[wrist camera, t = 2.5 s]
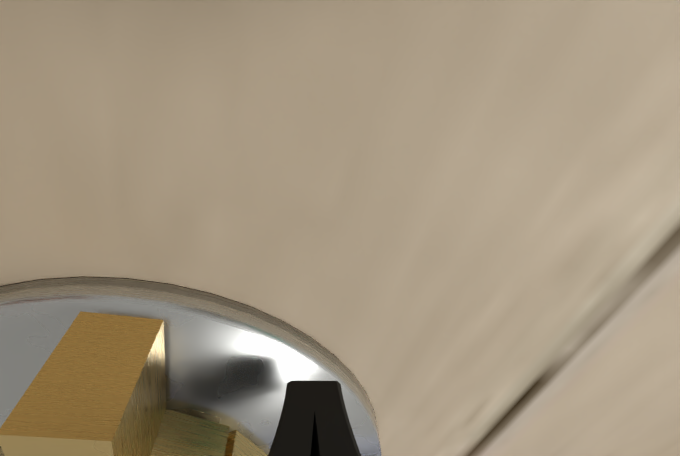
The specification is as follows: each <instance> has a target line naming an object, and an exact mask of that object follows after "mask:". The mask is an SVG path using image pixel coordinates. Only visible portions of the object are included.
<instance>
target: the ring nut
mask: <svg viewBox="0 0 680 456" xmlns="http://www.w3.org/2000/svg"><path fill="white" fill-rule="evenodd" d="M229 428H230V426H227V425H223V424H220V423H216V422H212V421H209V420H205V419H202V418H198V417H194V416H191V415H187V414H184V413H180V412H176V411H173V410H169V409H166V379H165V348H164V320H160V319H150V318H141V317H131V316H121V315H111V314H102V313H92V312H82V311H80V313H79V314H78V315H77V317H76V318H75V320H74V321H73V323H72V324H71V326H70V327H69V329H68V330H67V332H66V333H65V334H64V336H63V337H62V339H61V340H60V342H59V343H58V345H57V346H56V348H55V349H54V350H53V352H52V353H51V355H50V356H49V358H48V359H47V361H46V362H45V364H44V365H43V367H42V368H41V369H40V371H39V372H38V374H37V375H36V377H35V378H34V380H33V381H32V383H31V384H30V386H29V387H28V388H27V390H26V391H25V393H24V394H23V396H22V397H21V399H20V400H19V402H18V403H17V405H16V406H15V407H14V409H13V410H12V412H11V413H10V415H9V416H8V418H7V419H6V421H5V422H4V423H3V425H2V426H1V428H0V456H268V454H266V453H265V452H264V451H263V450H261V449H260V448H259V447H258V446H256V445H255V444H254V443H253V442H251V441H250V440H249V439H248V438H246V437H245V436H244V435H243V434H241V433H240V432H239V431H238V430H234V431H232V432H229Z"/></svg>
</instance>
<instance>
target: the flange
mask: <svg viewBox="0 0 680 456" xmlns="http://www.w3.org/2000/svg"><path fill="white" fill-rule="evenodd" d="M80 311H82V312H92V313H102V314H111V315H121V316H131V317H141V318H150V319H160V320H164V348H165V379H166V409H169V410H173V411H176V412H180V413H184V414H187V415H191V416H194V417H198V418H202V419H205V420H209V421H212V422H216V423H220V424H223V425H227V426H230V428H229V432H232V431H234V430H238V431H239V432H240V433H241V434H243V435H244V436H245V437H246V438H248V439H249V440H250V441H251V442H253V443H254V444H255V445H256V446H258V447H259V448H260V449H261V450H263V451H264V452H265V453H266V454H269V451H270V448H271V445H272V443H273V440H274V437H275V434H276V430H277V427H278V423H279V420H280V416H281V412H282V408H283V404H284V399H285V394H286V387H287V383H288V382H290V381H338V382H339V383H340V384H341V390H342V395H343V399H344V403H345V407H346V411H347V414H348V418H349V421H350V424H351V427H352V431H353V434H354V437H355V440H356V443H357V445H358V448H359V451H360V454H361V456H381V448H380V441H379V434H378V427H377V422H376V417H375V412H374V409H373V407H372V405H371V402H370V400H369V398H368V396H367V393H366V392H365V390H364V389H363V387H362V386H361V384H360V383H359V382H358V380H357V379H356V377H355V376H354V374H353V373H352V372H351V371H350V370H349V369H348V368H347V367H346V366H345V365H344V364H343V363H342V362H341V361H340V360H339V359H338V358H337V357H336V356H335V355H334V354H332V353H331V352H330V351H328V350H327V349H326V348H325V347H323V346H322V345H321V344H319V343H318V342H317V341H315V340H314V339H313V338H311V337H310V336H308V335H306V334H304V333H303V332H301V331H299V330H298V329H296V328H294V327H293V326H291V325H289V324H287V323H286V322H284V321H282V320H280V319H277V318H275V317H273V316H271V315H268V314H266V313H264V312H262V311H259V310H257V309H255V308H253V307H251V306H248V305H245V304H242V303H239V302H235V301H232V300H229V299H226V298H223V297H220V296H217V295H214V294H211V293H206V292H202V291H198V290H193V289H189V288H184V287H180V286H176V285H171V284H164V283H156V282H149V281H141V280H134V279H122V278H95V277H77V278H60V279H44V280H36V281H30V282H24V283H19V284H13V285H7V286H1V287H0V428H1V426H2V425H3V423H4V422H5V421H6V419H7V418H8V416H9V415H10V413H11V412H12V410H13V409H14V407H15V406H16V405H17V403H18V402H19V400H20V399H21V397H22V396H23V394H24V393H25V391H26V390H27V388H28V387H29V386H30V384H31V383H32V381H33V380H34V378H35V377H36V375H37V374H38V372H39V371H40V369H41V368H42V367H43V365H44V364H45V362H46V361H47V359H48V358H49V356H50V355H51V353H52V352H53V350H54V349H55V348H56V346H57V345H58V343H59V342H60V340H61V339H62V337H63V336H64V334H65V333H66V332H67V330H68V329H69V327H70V326H71V324H72V323H73V321H74V320H75V318H76V317H77V315H78V314H79V313H80Z"/></svg>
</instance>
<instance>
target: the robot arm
mask: <svg viewBox="0 0 680 456" xmlns="http://www.w3.org/2000/svg"><path fill="white" fill-rule="evenodd" d="M268 456H361V454H360V451H359V448H358V445H357V443H356V440H355V437H354V434H353V431H352V427H351V424H350V421H349V418H348V414H347V411H346V407H345V403H344V399H343V395H342V390H341V384H340V383H339V382H338V381H290V382H288V383H287V387H286V394H285V399H284V404H283V408H282V412H281V416H280V420H279V423H278V427H277V430H276V434H275V437H274V440H273V443H272V445H271V448H270V451H269V454H268Z"/></svg>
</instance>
